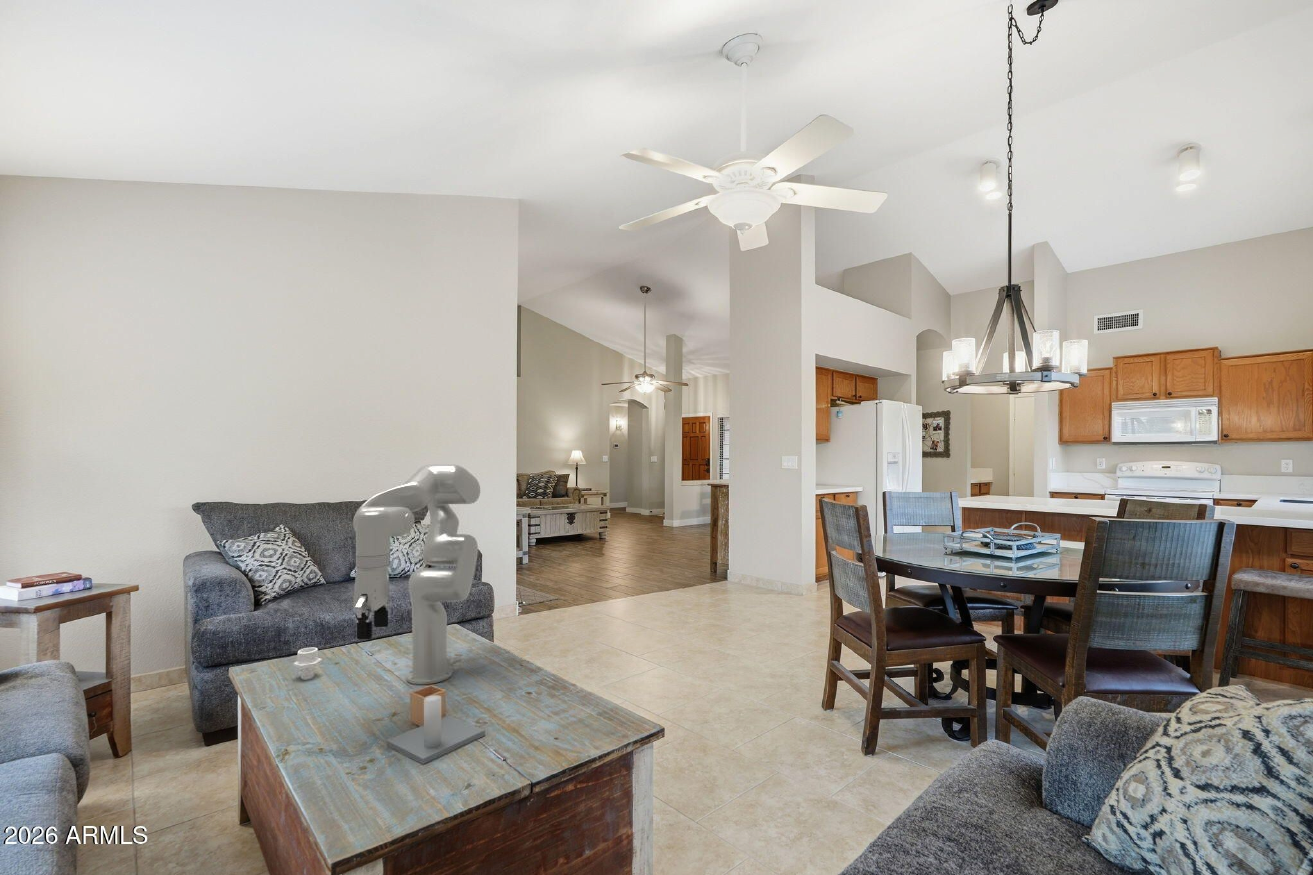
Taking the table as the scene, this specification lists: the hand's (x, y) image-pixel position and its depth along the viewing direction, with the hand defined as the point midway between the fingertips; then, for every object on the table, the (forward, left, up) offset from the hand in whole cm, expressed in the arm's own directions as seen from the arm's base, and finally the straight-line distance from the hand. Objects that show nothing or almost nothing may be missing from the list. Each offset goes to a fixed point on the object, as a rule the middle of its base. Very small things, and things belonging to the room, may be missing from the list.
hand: (373, 632), depth 147 cm
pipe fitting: (-5, -46, -22) cm, 51 cm away
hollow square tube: (-9, +8, -22) cm, 26 cm away
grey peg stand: (-4, +19, -22) cm, 30 cm away
